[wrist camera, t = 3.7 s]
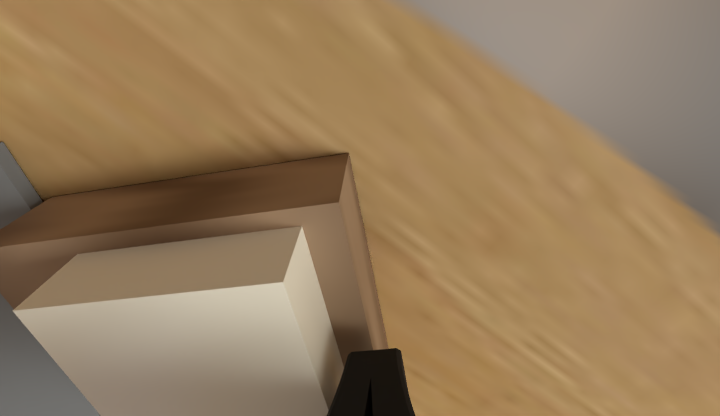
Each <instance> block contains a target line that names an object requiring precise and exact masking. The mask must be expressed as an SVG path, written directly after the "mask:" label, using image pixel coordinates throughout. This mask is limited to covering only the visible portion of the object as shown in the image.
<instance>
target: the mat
mask: <svg viewBox="0 0 720 416" xmlns="http://www.w3.org/2000/svg"><path fill="white" fill-rule="evenodd" d="M41 203H43V201H42V200H41V198H40V197H39V195H38V194H37V192H36V191H35V189H34V188H33V186H32V185H31V183H30V182H29V180H28V179H27V177H26V176H25V174H24V173H23V171H22V170H21V168H20V167H19V165H18V164H17V162H16V161H15V159H14V158H13V156H12V155H11V153H10V152H9V150H8V149H7V147H6V146H5V144H4V143H3V142H0V229H2V228H3V227H5V226H7V225H8V224H10V223H11V222H13V221H14V220H16V219H18V218H19V217H21V216H22V215H24V214H26V213H27V212H29V211H30V210H32V209H33V208H35V207H37V206H38V205H40V204H41ZM13 310H14V309H13V308H12V307H11V305H10V304H9V303H8V302H7V301H6V299H5V298H4V297H3V296H2V295H1V293H0V416H101V415H100V414H99V413H98V412H97V411H96V409H95V408H94V407H93V406H92V405H91V403H90V402H89V401H88V400H87V399H86V398H85V396H84V395H83V394H82V393H81V392H80V390H79V389H78V388H77V387H76V386H75V384H74V383H73V382H72V381H71V380H70V379H69V377H68V376H67V375H66V374H65V373H64V371H63V370H62V369H61V368H60V367H59V365H58V364H57V363H56V362H55V361H54V360H53V358H52V357H51V356H50V355H49V354H48V352H47V351H46V350H45V349H44V348H43V346H42V345H41V344H40V343H39V342H38V341H37V339H36V338H35V337H34V336H33V335H32V333H31V332H30V331H29V330H28V329H27V328H26V326H25V325H24V324H23V323H22V322H21V320H20V319H19V318H18V317H17V316H16V314H15V313H14V312H13Z"/></svg>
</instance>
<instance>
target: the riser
mask: <svg viewBox="0 0 720 416" xmlns="http://www.w3.org/2000/svg"><path fill="white" fill-rule="evenodd" d="M298 226H302V228H303V231H304V234H305V238H306V241H307V245H308V248H309V251H310V255H311V258H312V261H313V265H314V268H315V272H316V275H317V278H318V282H319V285H320V288H321V292H322V295H323V299H324V302H325V305H326V309H327V312H328V315H329V319H330V322H331V326H332V329H333V332H334V336H335V339H336V343H337V346H338V349H339V353H340V356H341V359H342V363H343V366H344V367H345V364H346V360H347V357H348V354H350V353H351V352H355V351H368V350H380V349H388V344H387V339H386V334H385V329H384V324H383V319H382V314H381V309H380V304H379V299H378V294H377V289H376V285H375V280H374V275H373V270H372V265H371V260H370V255H369V250H368V245H367V240H366V235H365V230H364V225H363V220H362V216H361V211H360V206H359V201H358V196H357V191H356V186H355V181H354V176H353V171H352V166H351V161H350V156H349V153H346V154H339V155H333V156H326V157H319V158H312V159H306V160H299V161H292V162H285V163H279V164H272V165H265V166H258V167H252V168H245V169H238V170H231V171H225V172H218V173H211V174H204V175H198V176H191V177H184V178H177V179H171V180H164V181H157V182H150V183H144V184H137V185H130V186H123V187H117V188H110V189H103V190H96V191H90V192H83V193H76V194H69V195H63V196H56V197H51V198H49V199H48V200H46V201H45V202H43V203H41V204H40V205H38V206H37V207H35V208H33V209H32V210H30V211H29V212H27V213H26V214H24V215H22V216H21V217H19V218H18V219H16V220H14V221H13V222H11V223H10V224H8V225H7V226H5V227H3V228H2V229H0V293H1V295H2V296H3V297H4V298H5V299H6V301H7V302H8V303H9V304H10V305H11V307H12V308H13V309H15V308H16V307H17V306H18V305H20V304H21V303H22V302H23V301H24V300H25V299H27V298H28V297H29V296H30V295H31V294H32V293H33V292H35V291H36V290H37V289H38V288H39V287H40V286H41V285H43V284H44V283H45V282H46V281H47V280H48V279H49V278H51V277H52V276H53V275H54V274H55V273H56V272H57V271H59V270H60V269H61V268H62V267H63V266H64V265H65V264H67V263H68V262H69V261H70V260H71V259H72V258H73V257H75V256H76V255H77V254H82V253H90V252H98V251H106V250H114V249H122V248H130V247H138V246H146V245H154V244H162V243H170V242H178V241H186V240H194V239H202V238H210V237H218V236H226V235H234V234H242V233H250V232H258V231H266V230H274V229H282V228H290V227H298Z"/></svg>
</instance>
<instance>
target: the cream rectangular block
mask: <svg viewBox="0 0 720 416" xmlns="http://www.w3.org/2000/svg"><path fill="white" fill-rule="evenodd" d="M13 312H14V313H15V314H16V316H17V317H18V318H19V319H20V320H21V322H22V323H23V324H24V325H25V326H26V328H27V329H28V330H29V331H30V332H31V333H32V335H33V336H34V337H35V338H36V339H37V341H38V342H39V343H40V344H41V345H42V346H43V348H44V349H45V350H46V351H47V352H48V354H49V355H50V356H51V357H52V358H53V360H54V361H55V362H56V363H57V364H58V365H59V367H60V368H61V369H62V370H63V371H64V373H65V374H66V375H67V376H68V377H69V379H70V380H71V381H72V382H73V383H74V384H75V386H76V387H77V388H78V389H79V390H80V392H81V393H82V394H83V395H84V396H85V398H86V399H87V400H88V401H89V402H90V403H91V405H92V406H93V407H94V408H95V409H96V411H97V412H98V413H99V414H100V415H101V416H327V414H328V411H329V409H330V406H331V404H332V401H333V399H334V396H335V393H336V391H337V388H338V385H339V382H340V379H341V376H342V373H343V370H344V366H343V363H342V359H341V356H340V353H339V349H338V346H337V343H336V339H335V336H334V332H333V329H332V326H331V322H330V319H329V315H328V312H327V309H326V305H325V302H324V299H323V295H322V292H321V288H320V285H319V282H318V278H317V275H316V272H315V268H314V265H313V261H312V258H311V255H310V251H309V248H308V245H307V241H306V238H305V234H304V231H303V228H302V226H298V227H290V228H282V229H274V230H266V231H258V232H250V233H242V234H234V235H226V236H218V237H210V238H202V239H194V240H186V241H178V242H170V243H162V244H154V245H146V246H138V247H130V248H122V249H114V250H106V251H98V252H90V253H82V254H77V255H76V256H75V257H73V258H72V259H71V260H70V261H69V262H68V263H67V264H65V265H64V266H63V267H62V268H61V269H60V270H59V271H57V272H56V273H55V274H54V275H53V276H52V277H51V278H49V279H48V280H47V281H46V282H45V283H44V284H43V285H41V286H40V287H39V288H38V289H37V290H36V291H35V292H33V293H32V294H31V295H30V296H29V297H28V298H27V299H25V300H24V301H23V302H22V303H21V304H20V305H18V306H17V307H16V308H15V309H14V310H13Z"/></svg>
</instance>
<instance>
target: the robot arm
mask: <svg viewBox="0 0 720 416" xmlns="http://www.w3.org/2000/svg"><path fill="white" fill-rule="evenodd" d="M327 416H415V413H414V411H413V407H412V404H411V401H410V397H409V394H408V388H407V382H406V377H405V371H404V366H403V360H402V354H401V351H400V350H398V349H397V348H393V349H380V350H368V351H355V352H351V353H350V354H348V357H347V360H346V364H345V367H344V370H343V373H342V376H341V379H340V382H339V385H338V388H337V391H336V393H335V396H334V399H333V401H332V404H331V406H330V409H329V411H328V414H327Z"/></svg>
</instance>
